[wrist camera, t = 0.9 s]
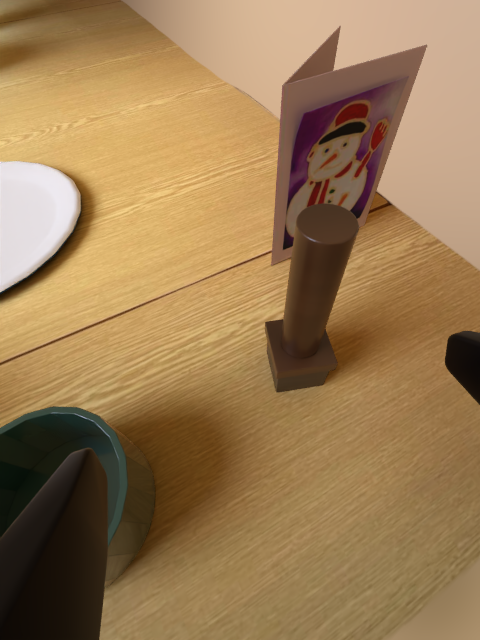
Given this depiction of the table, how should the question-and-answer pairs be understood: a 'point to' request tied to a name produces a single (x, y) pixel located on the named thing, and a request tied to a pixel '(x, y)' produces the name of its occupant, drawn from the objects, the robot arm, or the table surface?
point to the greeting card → (337, 134)
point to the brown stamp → (311, 297)
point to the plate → (33, 218)
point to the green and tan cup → (50, 452)
